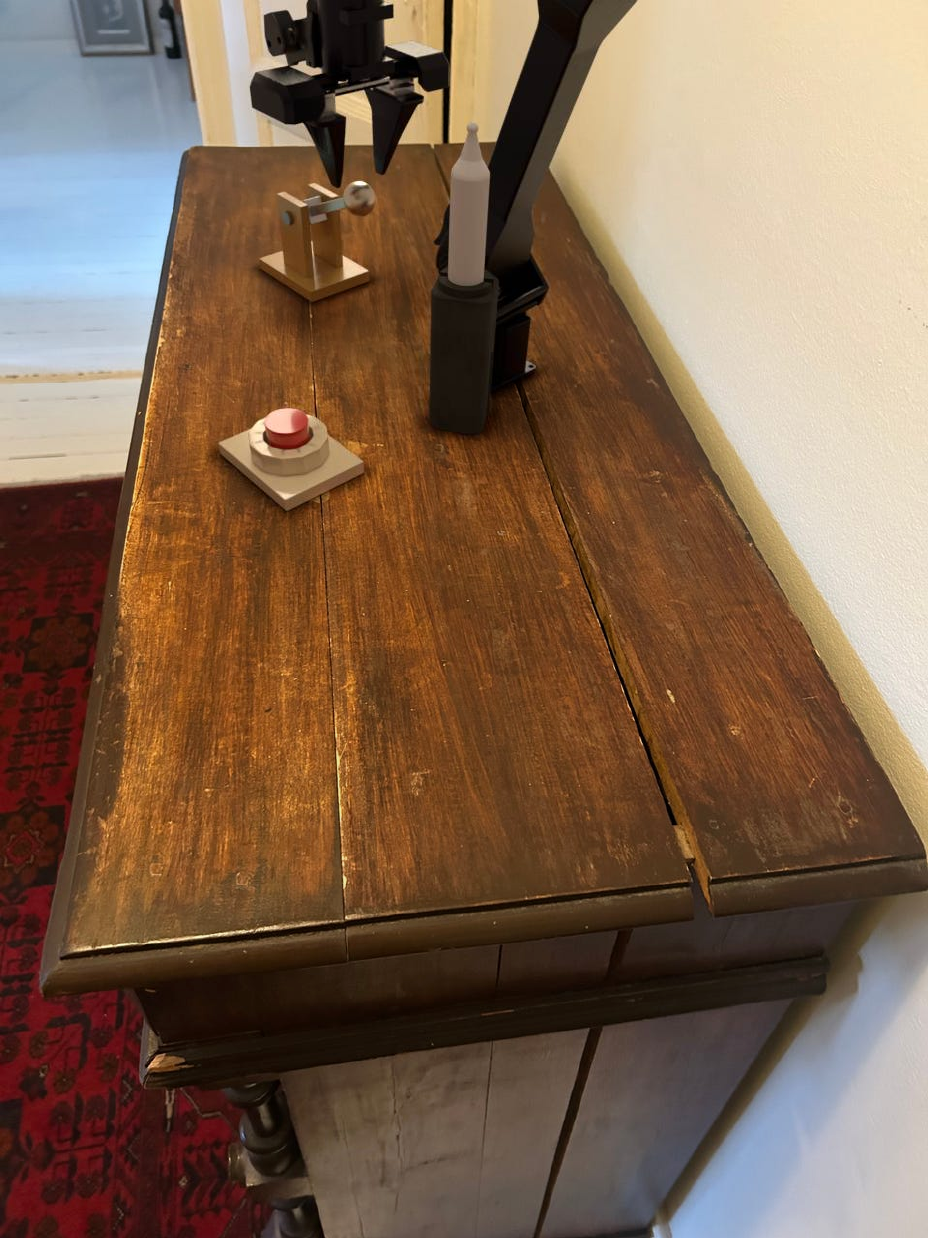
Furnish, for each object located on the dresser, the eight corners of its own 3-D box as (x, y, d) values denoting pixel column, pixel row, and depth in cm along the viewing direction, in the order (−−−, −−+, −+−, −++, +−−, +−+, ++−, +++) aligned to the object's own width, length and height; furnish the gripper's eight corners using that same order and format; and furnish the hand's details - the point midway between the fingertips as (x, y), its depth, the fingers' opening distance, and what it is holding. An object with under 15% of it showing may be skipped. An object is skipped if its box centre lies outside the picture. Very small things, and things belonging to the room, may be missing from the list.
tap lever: (385, 209, 86) (376, 174, 85) (360, 218, 85) (350, 182, 83) (319, 225, 96) (310, 193, 94) (295, 232, 94) (285, 201, 93)
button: (318, 439, 73) (317, 422, 72) (283, 456, 71) (280, 438, 70) (293, 420, 75) (291, 403, 73) (258, 436, 73) (255, 418, 72)
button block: (364, 472, 74) (362, 443, 72) (286, 511, 71) (282, 482, 68) (296, 420, 79) (293, 391, 77) (220, 453, 75) (214, 424, 73)
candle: (481, 436, 79) (501, 137, 60) (426, 427, 79) (430, 129, 61) (491, 405, 82) (513, 114, 64) (438, 397, 83) (445, 106, 64)
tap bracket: (369, 280, 98) (366, 200, 92) (311, 302, 94) (304, 220, 88) (317, 249, 103) (310, 170, 96) (259, 268, 99) (249, 188, 92)
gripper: (376, -45, 81) (381, 135, 93) (201, -21, 72) (230, 175, 84) (456, -21, 76) (450, 168, 88) (277, 9, 67) (297, 214, 79)
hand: (358, 179), depth 85 cm, fingers open, 5 cm apart
